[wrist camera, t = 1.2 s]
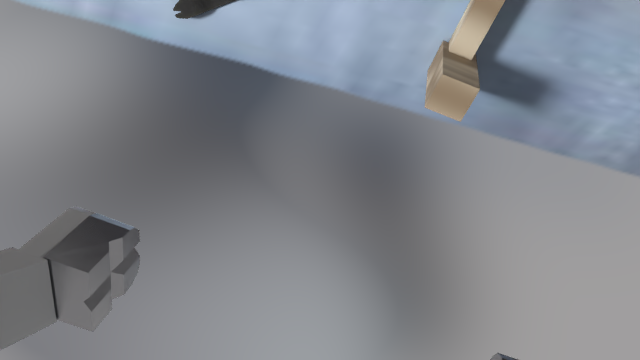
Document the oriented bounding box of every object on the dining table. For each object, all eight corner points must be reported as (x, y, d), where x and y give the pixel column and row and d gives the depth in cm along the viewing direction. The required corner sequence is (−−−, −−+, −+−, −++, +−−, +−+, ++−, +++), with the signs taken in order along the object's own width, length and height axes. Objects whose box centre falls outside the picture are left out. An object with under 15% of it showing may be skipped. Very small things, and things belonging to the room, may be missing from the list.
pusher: (482, -113, 34) (488, -101, 29) (585, -71, 34) (611, -50, 29) (401, 60, 43) (395, 95, 37) (484, 93, 43) (489, 133, 38)
